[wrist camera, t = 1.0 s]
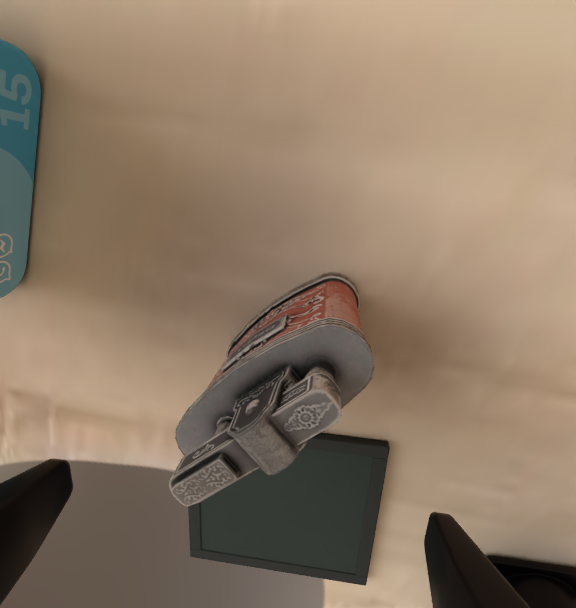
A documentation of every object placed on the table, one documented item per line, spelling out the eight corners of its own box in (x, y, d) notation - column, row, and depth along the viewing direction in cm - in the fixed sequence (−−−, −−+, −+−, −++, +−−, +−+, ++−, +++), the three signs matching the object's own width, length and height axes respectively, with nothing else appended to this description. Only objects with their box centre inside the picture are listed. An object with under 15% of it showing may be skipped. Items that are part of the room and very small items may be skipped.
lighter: (333, 256, 18) (332, 332, 9) (373, 308, 19) (412, 433, 9) (217, 342, 20) (115, 477, 11) (255, 386, 21) (190, 551, 11)
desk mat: (388, 441, 21) (389, 447, 20) (365, 576, 24) (366, 586, 24) (188, 416, 22) (184, 422, 22) (193, 549, 26) (190, 557, 25)
